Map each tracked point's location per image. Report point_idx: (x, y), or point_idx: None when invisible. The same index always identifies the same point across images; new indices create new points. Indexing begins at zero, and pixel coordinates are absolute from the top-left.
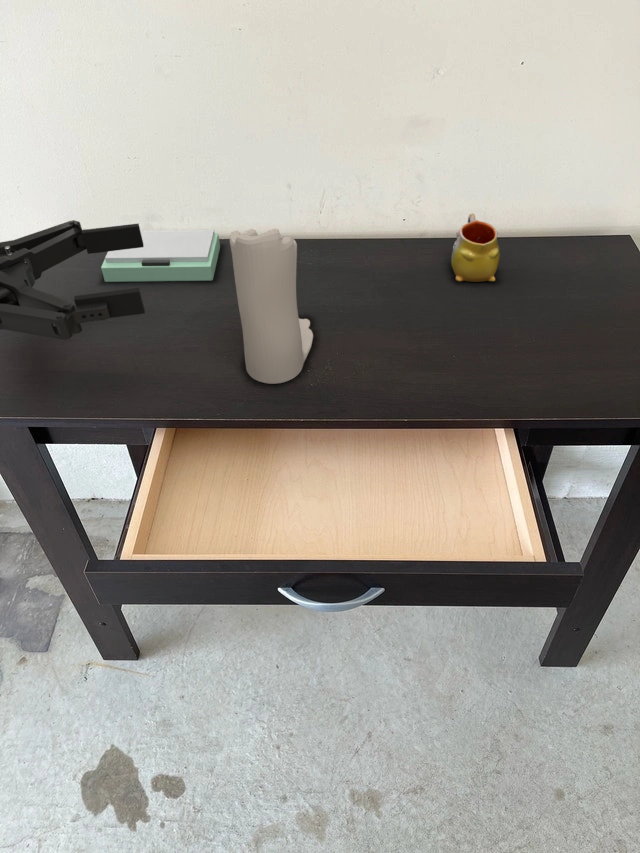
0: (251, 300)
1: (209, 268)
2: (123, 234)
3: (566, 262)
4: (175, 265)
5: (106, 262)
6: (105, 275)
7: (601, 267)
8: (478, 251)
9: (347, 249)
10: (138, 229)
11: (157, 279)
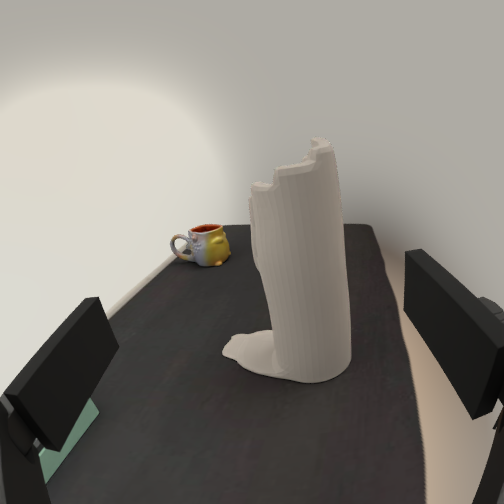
0: (341, 244)
1: (89, 399)
2: (86, 334)
3: None
4: None
5: None
6: None
7: (236, 230)
8: (221, 233)
9: (132, 311)
10: (100, 305)
11: (55, 467)
